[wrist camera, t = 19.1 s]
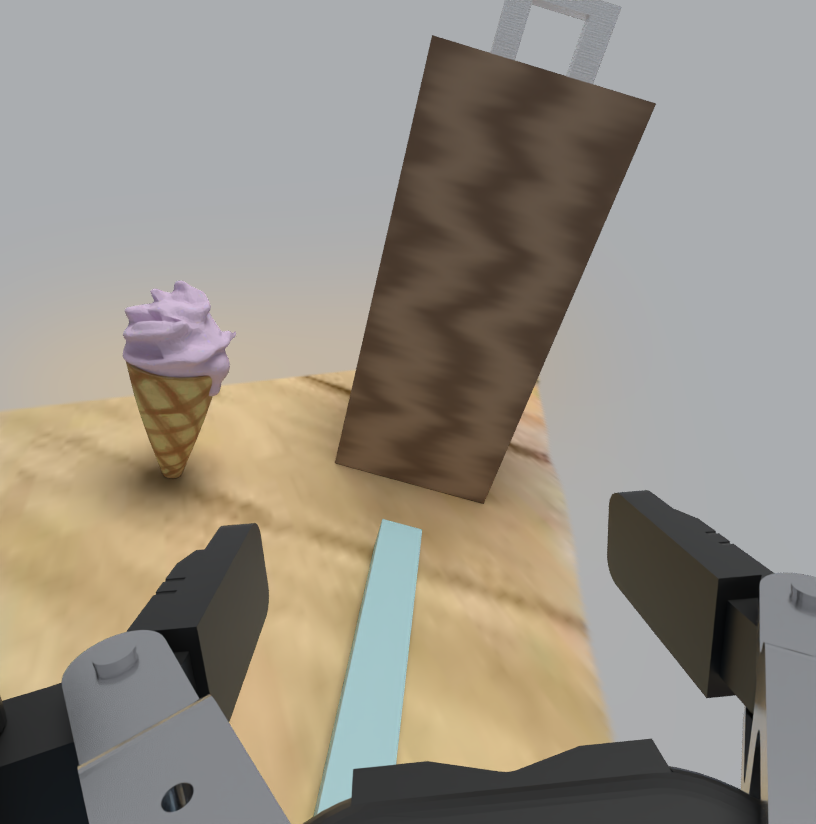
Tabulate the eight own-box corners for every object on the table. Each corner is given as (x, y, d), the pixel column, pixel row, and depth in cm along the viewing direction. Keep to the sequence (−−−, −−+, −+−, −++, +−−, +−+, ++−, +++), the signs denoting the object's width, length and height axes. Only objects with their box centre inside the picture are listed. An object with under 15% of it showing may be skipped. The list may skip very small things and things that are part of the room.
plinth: (334, 462, 45) (432, 35, 29) (359, 402, 55) (440, 64, 40) (483, 503, 45) (656, 103, 30) (480, 436, 56) (606, 114, 40)
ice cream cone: (225, 452, 42) (240, 281, 35) (220, 502, 37) (237, 315, 30) (137, 447, 40) (134, 263, 33) (118, 499, 35) (111, 296, 28)
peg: (345, 1077, 17) (362, 1059, 15) (258, 1058, 17) (268, 1037, 15) (411, 558, 38) (422, 529, 36) (373, 548, 38) (382, 519, 36)
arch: (488, 58, 31) (512, -28, 29) (487, 62, 33) (510, -20, 31) (590, 89, 32) (621, 6, 30) (585, 92, 33) (615, 12, 31)
